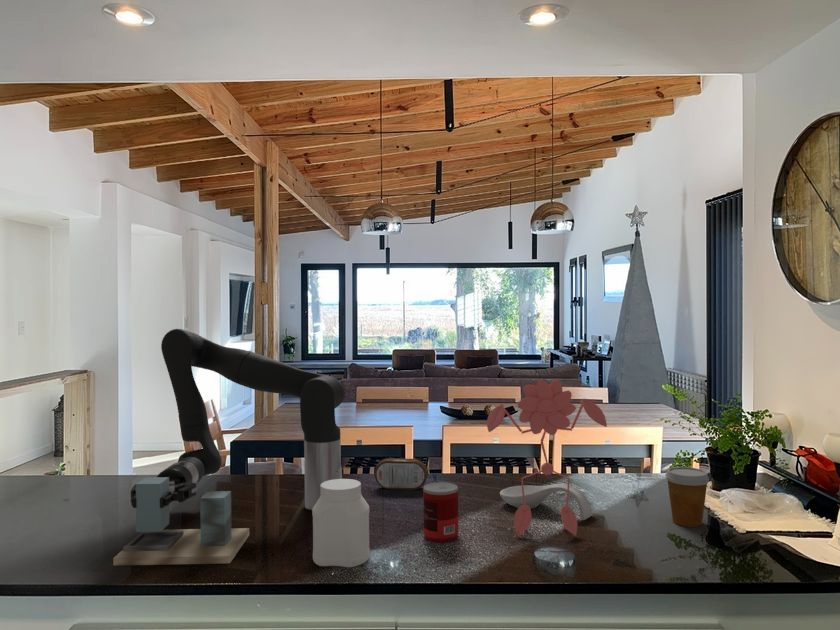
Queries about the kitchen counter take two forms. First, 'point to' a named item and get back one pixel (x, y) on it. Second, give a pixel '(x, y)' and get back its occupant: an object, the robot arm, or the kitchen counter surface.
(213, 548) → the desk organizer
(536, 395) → the figurine
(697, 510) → the disposable coffee cup
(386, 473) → the tin
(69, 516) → the kitchen counter surface
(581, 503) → the spoon rest
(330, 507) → the jar
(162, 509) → the pillar
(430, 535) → the canned food
